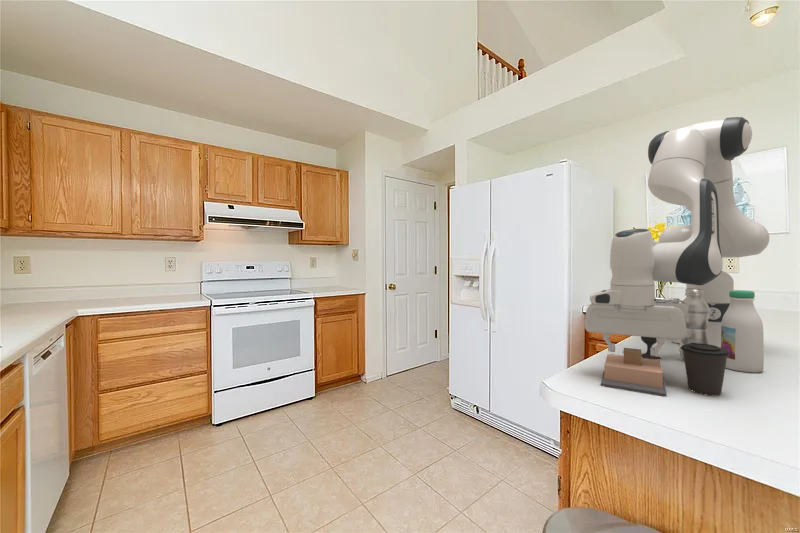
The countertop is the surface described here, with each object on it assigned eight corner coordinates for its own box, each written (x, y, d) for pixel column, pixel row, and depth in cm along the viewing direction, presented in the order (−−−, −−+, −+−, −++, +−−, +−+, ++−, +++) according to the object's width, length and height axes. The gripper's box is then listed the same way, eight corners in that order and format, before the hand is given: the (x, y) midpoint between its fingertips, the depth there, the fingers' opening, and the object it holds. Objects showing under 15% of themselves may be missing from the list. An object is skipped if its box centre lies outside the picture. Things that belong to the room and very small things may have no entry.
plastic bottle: (717, 365, 91) (716, 290, 90) (687, 364, 92) (687, 290, 91) (700, 358, 97) (700, 287, 96) (673, 357, 98) (673, 288, 98)
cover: (607, 366, 90) (607, 342, 90) (659, 373, 84) (659, 347, 84) (604, 378, 81) (604, 352, 81) (662, 388, 75) (662, 359, 75)
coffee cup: (682, 381, 80) (682, 338, 80) (730, 389, 75) (730, 344, 74) (678, 391, 74) (678, 346, 74) (730, 401, 69) (730, 352, 69)
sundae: (666, 361, 95) (666, 307, 94) (637, 358, 98) (636, 306, 98) (662, 355, 101) (662, 304, 100) (634, 352, 104) (634, 303, 103)
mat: (606, 364, 94) (606, 362, 94) (661, 371, 87) (661, 369, 87) (600, 385, 79) (600, 383, 79) (666, 396, 72) (666, 393, 72)
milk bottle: (762, 367, 88) (762, 290, 87) (764, 375, 82) (764, 293, 82) (721, 361, 93) (721, 288, 93) (720, 369, 88) (720, 291, 87)
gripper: (686, 297, 79) (686, 356, 79) (586, 293, 91) (586, 345, 91) (690, 300, 74) (690, 363, 74) (583, 296, 85) (583, 351, 86)
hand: (632, 353), depth 83 cm, fingers open, 7 cm apart
